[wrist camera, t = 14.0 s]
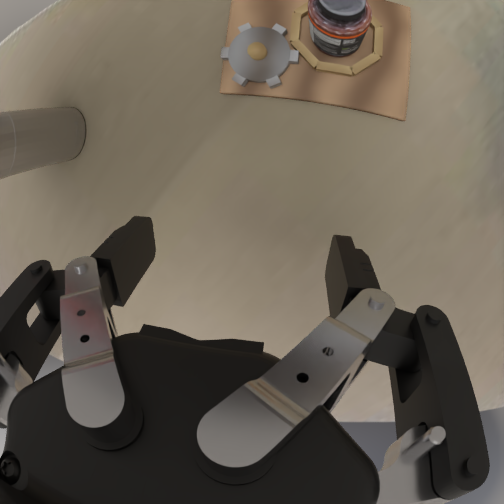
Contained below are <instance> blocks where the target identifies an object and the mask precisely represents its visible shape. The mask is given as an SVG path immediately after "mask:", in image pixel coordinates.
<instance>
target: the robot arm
mask: <svg viewBox="0 0 504 504" xmlns="http://www.w3.org/2000/svg"><path fill="white" fill-rule="evenodd" d="M85 133H86V131H85V122H84V119H83V116H82V114H81V113H80V112H79V111H78V110H77V109H75V108H72V107H61V108H40V109H27V110H17V111H8V112H1V113H0V179H2V178H5V177H8V176H12V175H15V174H18V173H22V172H25V171H29V170H32V169H36V168H40V167H44V166H48V165H52V164H56V163H60V162H65V161H69V160H72V159H74V158H75V157H76V156H77V155H78V154H79V152H80V151H81V149H82V147H83V144H84V140H85ZM155 252H156V247H155V240H154V232H153V224H152V220H151V218H150V217H141V216H134V217H133V218H132V219H131V220H130V221H129V222H128V223H127V224H126V225H125V226H122V227H120V228H119V229H117V230H115V231H114V232H113V233H112V234H111V235H110V236H109V238H107V239H106V240H105V241H104V243H102V244H101V245H100V246H99V248H98V249H97V250H96V251H95V252H94V253H93V254H92V255H91V256H90V257H89V256H84V257H79V258H76V259H74V260H72V261H71V262H70V263H68V265H67V266H66V268H65V270H56V271H53V270H52V267H51V264H50V262H49V261H47V260H40V261H36V262H34V263H32V264H30V265H29V266H28V267H27V268H26V269H25V270H24V271H23V272H22V273H21V274H20V275H19V276H18V278H17V279H16V280H15V281H14V282H13V283H12V284H11V286H10V287H9V288H8V289H7V290H6V291H5V293H4V294H3V295H2V296H1V297H0V428H7V434H6V442H5V447H4V451H3V454H2V456H1V458H0V504H444V503H446V502H449V501H451V500H453V499H456V498H458V497H460V496H462V495H464V494H467V493H469V492H471V491H473V490H475V489H476V488H478V487H480V486H481V485H482V484H483V483H484V481H485V480H486V478H487V476H488V473H489V467H490V465H489V457H488V451H487V445H486V440H485V435H484V430H483V426H482V421H481V417H480V413H479V409H478V405H477V401H476V398H475V394H474V391H473V387H472V384H471V381H470V377H469V374H468V371H467V368H466V365H465V362H464V359H463V356H462V354H461V351H460V348H459V345H458V343H457V340H456V337H455V335H454V332H453V330H452V327H451V325H450V322H449V320H448V318H447V316H446V315H445V314H444V313H443V312H442V311H441V310H440V309H438V308H436V307H434V306H430V305H423V306H420V307H419V308H418V309H417V311H416V313H415V314H413V313H410V312H406V311H403V310H400V309H398V308H396V307H395V302H394V300H393V298H392V297H391V296H390V295H389V294H387V293H386V292H384V291H382V290H381V289H380V286H379V283H378V280H377V277H376V275H375V272H374V269H373V267H372V265H371V261H370V259H369V256H368V255H367V254H366V253H365V252H364V251H363V250H362V249H355V246H354V243H353V241H352V238H351V237H350V236H341V235H333V238H332V242H331V247H330V251H329V256H328V260H327V265H326V272H325V280H326V287H327V295H328V302H329V310H330V316H328V317H327V318H326V319H324V320H323V321H322V322H321V323H320V324H319V325H318V326H317V327H316V328H315V329H314V330H313V331H312V332H311V333H310V334H309V335H308V336H307V337H305V338H304V339H303V340H302V341H301V342H300V343H299V344H298V345H297V346H296V347H295V348H293V349H292V350H291V351H290V352H289V353H288V354H287V355H286V356H284V357H283V358H282V359H279V358H277V357H275V356H273V355H271V354H269V353H266V352H263V346H264V342H255V341H246V340H238V339H221V340H196V339H194V338H191V337H189V336H186V335H184V334H181V333H179V332H176V331H174V330H171V329H167V328H161V327H156V326H151V325H146V324H143V326H142V328H141V330H140V332H138V333H129V334H124V335H121V336H118V333H117V329H116V326H115V322H114V318H113V314H112V311H111V307H112V305H117V306H122V307H123V306H124V305H125V303H126V302H127V300H128V298H129V297H130V295H131V294H132V292H133V290H134V289H135V287H136V286H137V284H138V283H139V281H140V280H141V278H142V277H143V275H144V274H145V272H146V270H147V269H148V267H149V266H150V264H151V263H152V261H153V260H154V257H155ZM35 302H36V304H37V306H38V309H39V311H40V314H39V315H38V316H37V318H36V319H35V321H34V322H33V324H32V325H31V326H30V328H29V326H28V324H27V319H26V318H27V314H28V312H29V310H30V309H31V307H32V306H33V305H34V303H35ZM60 334H61V335H62V347H63V358H64V366H62V367H60V368H59V369H57V370H55V371H53V372H51V373H49V374H48V375H46V376H44V377H42V378H40V379H39V380H37V381H35V382H34V380H35V378H36V376H37V374H38V373H39V371H40V369H41V367H42V365H43V364H44V362H45V360H46V358H47V356H48V355H49V353H50V351H51V349H52V348H53V346H54V344H55V343H56V341H57V339H58V338H59V336H60ZM368 361H372V362H376V363H379V364H382V365H386V366H388V367H389V374H390V380H391V388H392V395H393V403H394V412H395V422H396V433H397V441H396V442H395V443H393V444H392V445H391V446H390V447H389V448H388V450H387V451H386V454H385V458H384V464H383V467H382V469H381V471H377V469H376V467H375V465H374V463H373V461H372V460H371V459H370V458H369V456H368V455H367V454H366V453H365V452H364V451H363V450H362V449H361V448H360V446H359V445H358V444H357V443H356V442H355V441H354V440H353V439H352V438H351V436H350V435H349V434H348V433H347V432H346V431H345V430H344V428H343V427H342V426H341V425H340V424H339V423H338V422H337V420H336V419H335V418H334V417H333V416H332V415H331V411H332V410H333V409H334V408H335V406H336V405H337V404H338V402H339V401H340V399H341V398H342V396H343V395H344V394H345V392H346V391H347V390H348V388H349V387H350V386H351V384H352V383H353V382H354V381H355V379H356V378H357V377H358V375H359V374H360V373H361V371H362V370H363V368H364V367H365V366H366V364H367V363H368Z"/></svg>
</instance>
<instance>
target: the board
mask: <svg viewBox="0 0 504 504" xmlns="http://www.w3.org/2000/svg"><path fill="white" fill-rule="evenodd" d="M308 1H309V0H232V2H231V8H230V15H229V22H228V29H227V36H226V44H225V47H222V50H221V58H222V59H223V68H222V76H221V85H220V93H222V94H236V95H253V96H265V97H276V98H285V99H294V100H302V101H309V102H316V103H322V104H328V105H334V106H339V107H345V108H350V109H355V110H359V111H364V112H368V113H373V114H377V115H381V116H385V117H389V118H393V119H397V120H400V121H405V119H406V110H407V100H408V88H409V74H410V51H411V16H410V7H406V6H403V5H400V4H396V3H393V2H389V1H385V0H367V1H368V3H369V5H370V7H371V10H372V20H371V23H370V26H369V28H368V30H367V32H366V34H365V37H364V39H363V41H362V43H361V45H360V47H359V48H358V50H357V51H356V52H355V53H353V54H351V55H349V56H345V57H333V56H330V55H327V54H325V53H323V52H322V51H320V50H319V49H318V48H317V47H316V46H315V45H314V43H313V41H312V38H311V34H310V28H309V16H308Z"/></svg>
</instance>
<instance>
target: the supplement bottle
mask: <svg viewBox="0 0 504 504" xmlns="http://www.w3.org/2000/svg"><path fill="white" fill-rule="evenodd" d="M308 16H309V28H310V34H311V38H312V41H313V43H314V45H315V46H316V47H317V48H318V49H319V50H320V51H322V52H323V53H325V54H327V55H330V56H333V57H345V56H349V55H351V54H353V53H355V52H356V51H357V50H358V48H359V47H360V45H361V43H362V41H363V39H364V37H365V34H366V32H367V30H368V28H369V26H370V23H371V20H372V10H371V7H370V5H369V3H368V1H367V0H309V1H308Z"/></svg>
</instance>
